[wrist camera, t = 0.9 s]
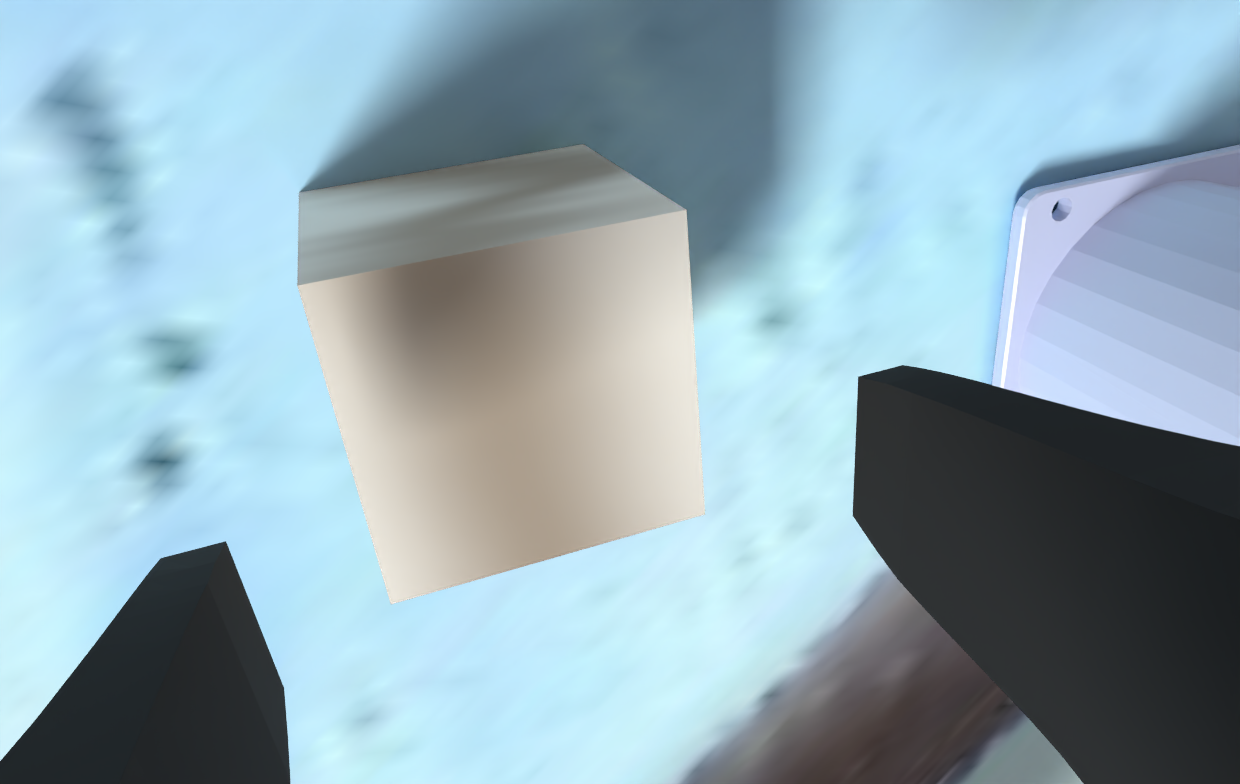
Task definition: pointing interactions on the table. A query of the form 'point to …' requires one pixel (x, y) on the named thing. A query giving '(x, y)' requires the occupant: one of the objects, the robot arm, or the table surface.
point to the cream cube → (505, 359)
